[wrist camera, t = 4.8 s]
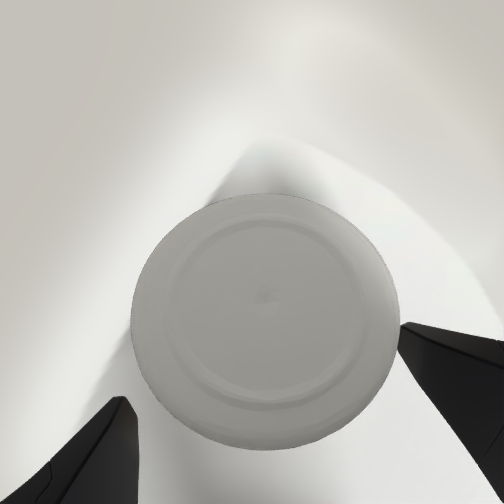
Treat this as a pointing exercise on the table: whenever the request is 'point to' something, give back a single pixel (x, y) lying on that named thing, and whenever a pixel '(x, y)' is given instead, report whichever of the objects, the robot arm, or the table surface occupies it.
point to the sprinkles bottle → (265, 322)
